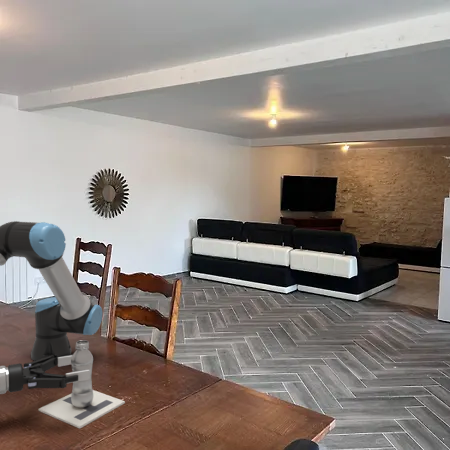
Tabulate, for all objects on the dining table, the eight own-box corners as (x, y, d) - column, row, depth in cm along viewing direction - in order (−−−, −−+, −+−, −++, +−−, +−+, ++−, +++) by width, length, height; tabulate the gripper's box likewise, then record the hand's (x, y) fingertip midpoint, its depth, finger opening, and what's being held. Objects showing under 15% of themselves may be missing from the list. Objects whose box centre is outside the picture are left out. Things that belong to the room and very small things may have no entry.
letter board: (85, 388, 150) (85, 387, 150) (124, 403, 140) (124, 401, 140) (38, 410, 134) (38, 408, 134) (79, 428, 125) (79, 426, 125)
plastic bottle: (87, 411, 133) (87, 346, 132) (66, 408, 135) (66, 344, 133) (97, 401, 139) (97, 339, 138) (77, 399, 141) (77, 337, 139)
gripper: (4, 375, 137) (75, 363, 147) (10, 411, 115) (93, 394, 126) (4, 351, 136) (75, 341, 147) (10, 383, 115) (93, 369, 125)
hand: (84, 366), depth 136 cm, fingers open, 13 cm apart
